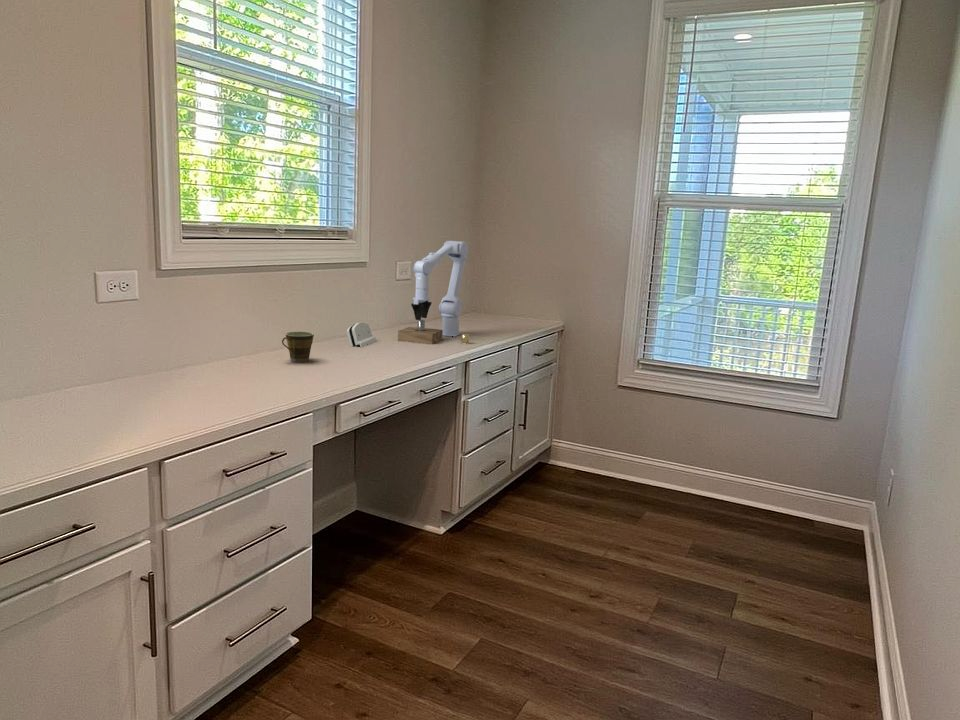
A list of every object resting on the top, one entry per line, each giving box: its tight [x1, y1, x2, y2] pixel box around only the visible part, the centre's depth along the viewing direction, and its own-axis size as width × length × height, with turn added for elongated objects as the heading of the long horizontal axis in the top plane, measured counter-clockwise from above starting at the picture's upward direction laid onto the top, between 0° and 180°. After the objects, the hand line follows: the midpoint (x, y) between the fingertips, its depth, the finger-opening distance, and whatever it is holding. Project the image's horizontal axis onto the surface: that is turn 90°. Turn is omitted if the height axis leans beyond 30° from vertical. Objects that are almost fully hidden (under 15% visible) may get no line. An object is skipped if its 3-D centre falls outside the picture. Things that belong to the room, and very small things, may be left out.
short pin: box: [460, 333, 470, 345], centre depth 307 cm, size 3×3×4 cm
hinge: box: [346, 322, 377, 348], centre depth 294 cm, size 17×5×10 cm, turn 166°
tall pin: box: [416, 319, 426, 331], centre depth 309 cm, size 3×3×9 cm
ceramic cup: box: [281, 331, 314, 363], centre depth 253 cm, size 13×10×10 cm
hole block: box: [397, 326, 443, 345], centre depth 309 cm, size 14×16×4 cm
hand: (421, 318), depth 308 cm, fingers open, 7 cm apart
